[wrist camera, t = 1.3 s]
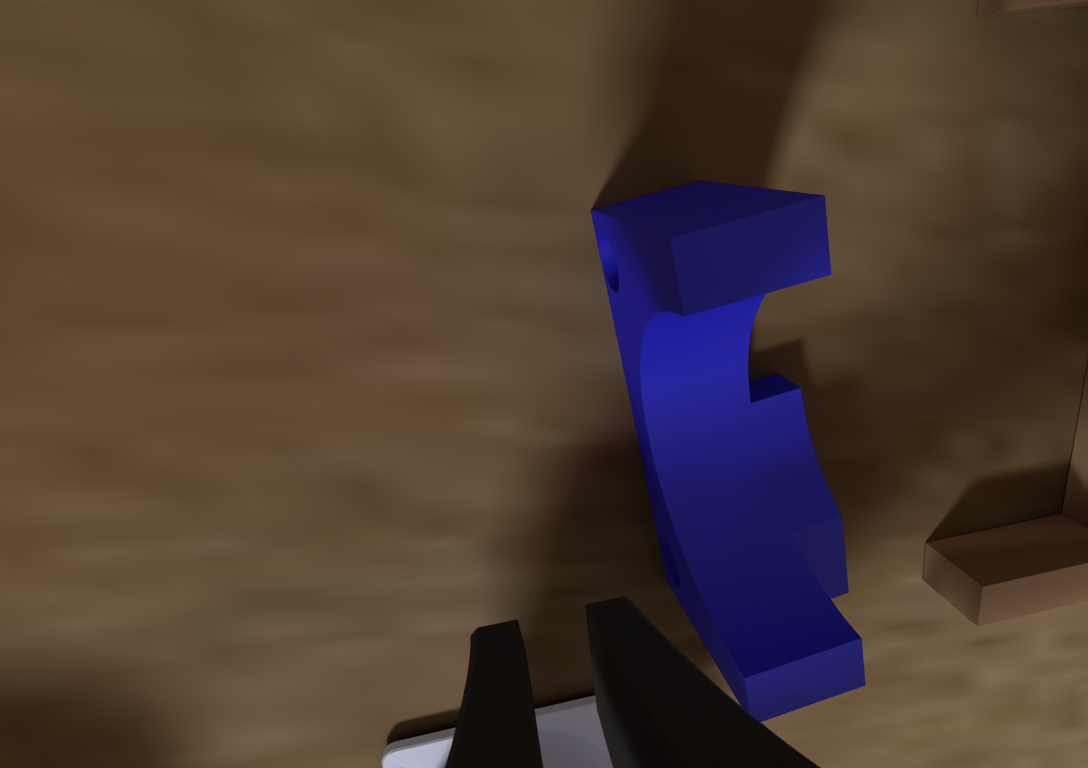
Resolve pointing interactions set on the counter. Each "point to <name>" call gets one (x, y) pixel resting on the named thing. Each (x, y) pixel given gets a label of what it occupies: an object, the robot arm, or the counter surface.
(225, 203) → the counter surface
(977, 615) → the wooden rack
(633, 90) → the counter surface
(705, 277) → the cable clip
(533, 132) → the counter surface
